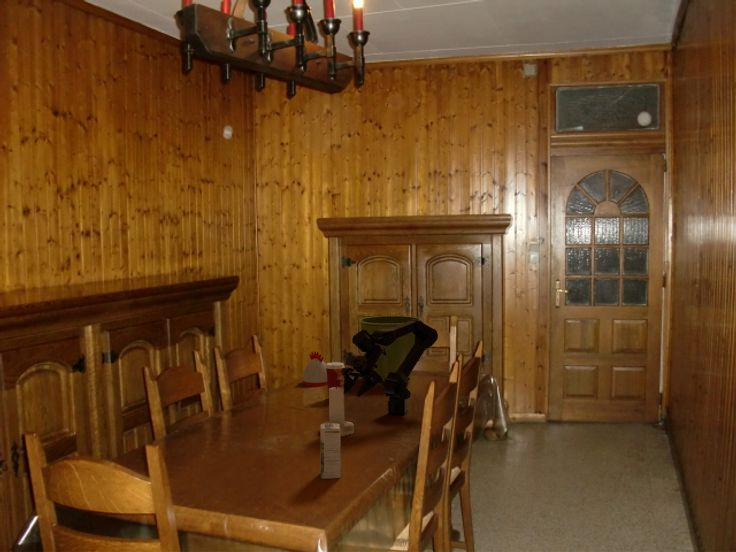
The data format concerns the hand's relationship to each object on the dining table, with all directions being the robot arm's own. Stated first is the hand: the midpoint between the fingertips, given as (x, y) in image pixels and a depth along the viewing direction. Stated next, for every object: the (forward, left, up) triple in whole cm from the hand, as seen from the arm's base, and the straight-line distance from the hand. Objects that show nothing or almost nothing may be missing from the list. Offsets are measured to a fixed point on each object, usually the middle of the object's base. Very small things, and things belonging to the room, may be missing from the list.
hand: (350, 395), depth 247 cm
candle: (+2, +9, -9) cm, 13 cm away
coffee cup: (+20, -37, -11) cm, 44 cm away
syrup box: (-12, +51, -11) cm, 53 cm away
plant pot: (+9, -83, -11) cm, 85 cm away
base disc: (+2, +9, -11) cm, 14 cm away
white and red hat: (+40, -65, -11) cm, 77 cm away
